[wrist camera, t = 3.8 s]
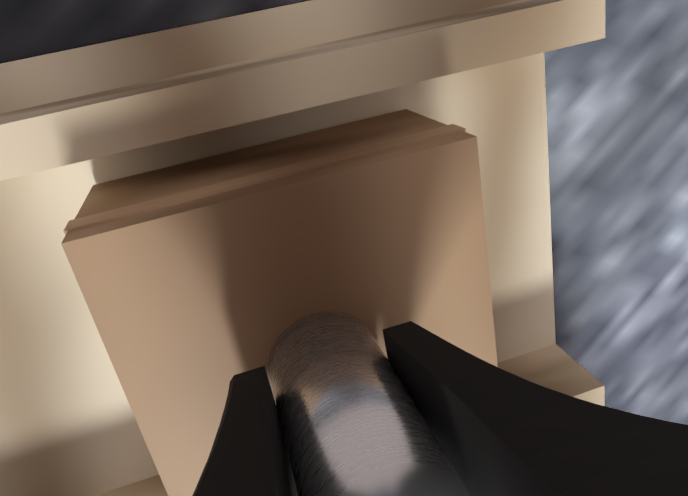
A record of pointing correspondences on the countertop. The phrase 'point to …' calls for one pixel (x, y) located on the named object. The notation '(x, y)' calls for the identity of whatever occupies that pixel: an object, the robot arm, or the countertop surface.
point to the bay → (242, 132)
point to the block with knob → (293, 295)
